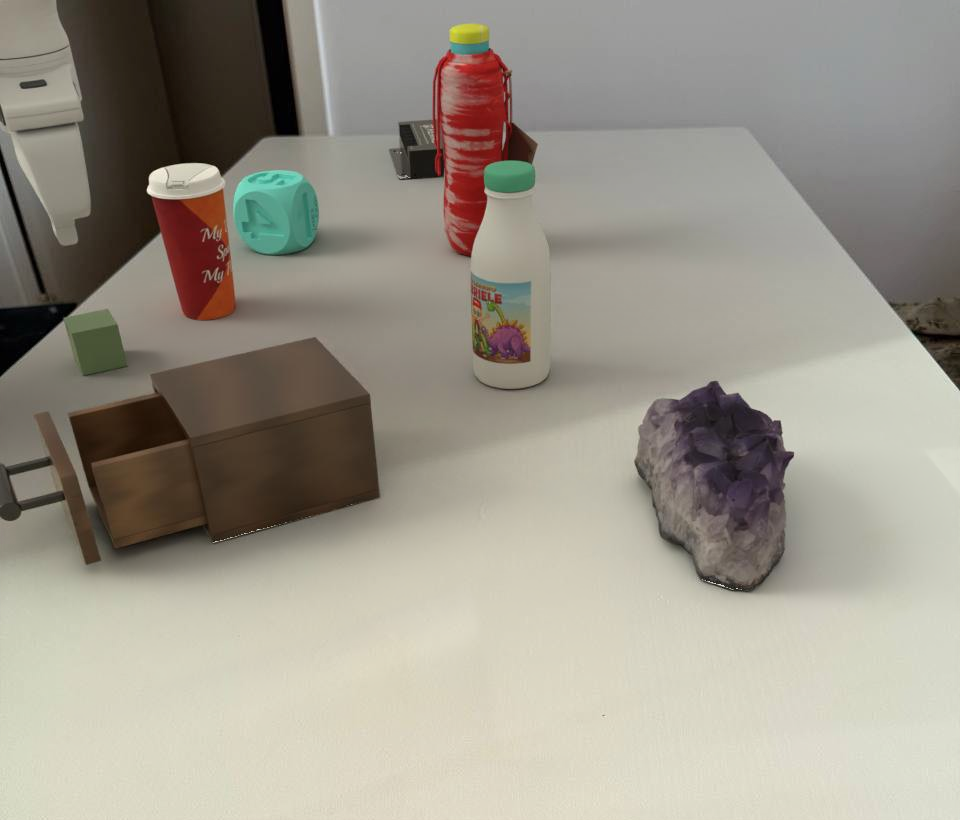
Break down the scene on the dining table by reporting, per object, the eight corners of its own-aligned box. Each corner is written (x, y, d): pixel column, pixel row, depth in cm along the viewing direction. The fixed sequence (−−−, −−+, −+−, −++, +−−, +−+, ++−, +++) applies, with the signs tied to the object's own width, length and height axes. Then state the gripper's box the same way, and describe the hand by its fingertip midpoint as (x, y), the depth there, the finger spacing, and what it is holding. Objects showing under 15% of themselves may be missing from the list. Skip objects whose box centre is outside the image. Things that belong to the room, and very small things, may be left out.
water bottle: (531, 234, 145) (531, 14, 129) (539, 256, 139) (540, 28, 123) (437, 239, 144) (426, 19, 129) (441, 262, 138) (429, 33, 123)
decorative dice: (295, 257, 141) (286, 191, 136) (238, 252, 143) (227, 187, 138) (322, 236, 147) (315, 172, 142) (267, 231, 149) (258, 167, 144)
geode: (837, 586, 84) (844, 474, 78) (683, 615, 85) (677, 505, 78) (759, 444, 100) (759, 340, 93) (629, 468, 100) (620, 367, 93)
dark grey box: (388, 149, 177) (379, 26, 166) (477, 142, 178) (473, 20, 167) (401, 188, 161) (391, 55, 150) (498, 180, 163) (495, 48, 152)
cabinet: (212, 544, 91) (190, 438, 85) (172, 474, 100) (149, 373, 94) (380, 497, 96) (370, 393, 90) (327, 434, 105) (315, 336, 99)
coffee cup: (238, 323, 126) (214, 183, 116) (165, 325, 126) (135, 186, 116) (251, 294, 132) (230, 159, 123) (181, 295, 132) (154, 161, 123)
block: (83, 376, 116) (71, 333, 113) (74, 359, 119) (62, 317, 117) (127, 366, 118) (117, 324, 115) (117, 350, 121) (107, 308, 118)
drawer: (22, 583, 86) (-9, 494, 81) (0, 512, 94) (-30, 428, 89) (253, 519, 92) (237, 433, 87) (213, 458, 100) (197, 376, 95)
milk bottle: (511, 350, 118) (508, 148, 105) (566, 372, 114) (570, 164, 101) (457, 375, 114) (448, 167, 101) (512, 398, 109) (510, 185, 97)
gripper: (-24, 67, 107) (18, 215, 116) (5, 115, 92) (50, 280, 101) (44, 58, 109) (80, 204, 118) (83, 104, 94) (121, 267, 103)
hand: (67, 240), depth 109 cm, fingers closed
